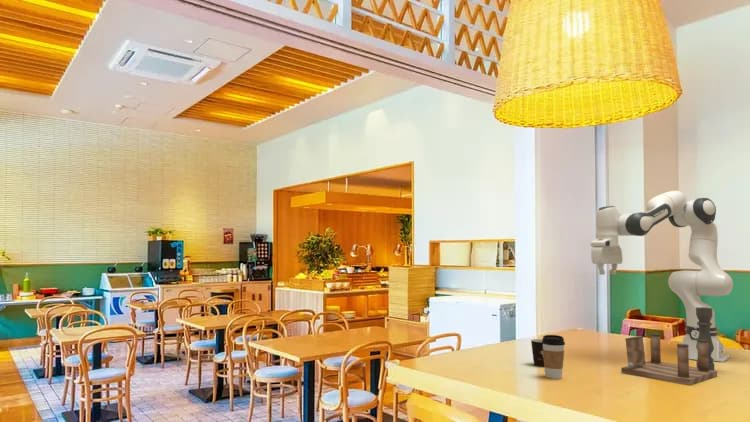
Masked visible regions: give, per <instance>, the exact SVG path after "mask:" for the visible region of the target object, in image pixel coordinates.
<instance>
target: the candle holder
mask: <svg viewBox="0 0 750 422" xmlns="http://www.w3.org/2000/svg"><path fill="white" fill-rule="evenodd" d="M712 308H713V307H712ZM712 308H705V307H696V316H697V318H698V320H699V322H697V324H698V326H699V336H698V339H702V340H708V355H709V370H714V371H716V370H715V369H716V368H715V363H714V362H715V361H714V360H713V358H712V357H711V355H712V354H711V353H712V352H713V350H714V346H713V343H712V339H711V336H710V327H711V325H712V323H710V321H711V319H712ZM696 348H697V350H698V347H697V344H696ZM696 368H698V357H697V360H696Z"/></svg>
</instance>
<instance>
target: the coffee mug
mask: <svg viewBox="0 0 750 422" xmlns="http://www.w3.org/2000/svg"><path fill="white" fill-rule="evenodd" d="M542 340H543V338H542V339H541V338H533V339H530V343H531V350H532V351H531V352H532V360H533V366H536V367H538V368H540V367H541V368H545V367H544V358H543V344H542Z"/></svg>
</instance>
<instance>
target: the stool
mask: <svg viewBox="0 0 750 422" xmlns="http://www.w3.org/2000/svg"><path fill="white" fill-rule="evenodd" d="M649 335H650V336H649V337H650V360H647V361H646V364H645V365H641V366H637V367H633V368H630V367H629V366H628V365H626V366H622V367H621V369H620V370H621V374H626V375H631V376H635V377H643V378H648V379H653V380H657V381H663V382H668V383H674V384H679V385H685V386H692V385H693V386H694V385H695V384H698V383H702V382H704V381H707V380H710V379H715V378H716V377H718V371H717V370H715V371H714V370H709V355H708V340H702V339H698V340H697V347H698V360H697V361H698V368H697V367H696V366H695V367H693V366H690V364H689V363H690V362H689V361H690V359H689V349H688V347H689V345H687V344H682V343H677V344H676V350H677V352H676V353H677V355H676V356H677V358H676V359H677V364H675V363H670V362H664V361H663V362H662V361H661V334H659V333H650V334H649Z"/></svg>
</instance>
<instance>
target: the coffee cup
mask: <svg viewBox="0 0 750 422" xmlns="http://www.w3.org/2000/svg"><path fill="white" fill-rule="evenodd" d="M542 339H543V340H542V344H543V358H544V367H543V368H544V375H545V378H547V379H550V380H551V379H552V380H560V379H563V368H564V355H565V349H564V347H565V345H566V342H565V340H564V336H561V335H556V334H545V335H544V336H542Z"/></svg>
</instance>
